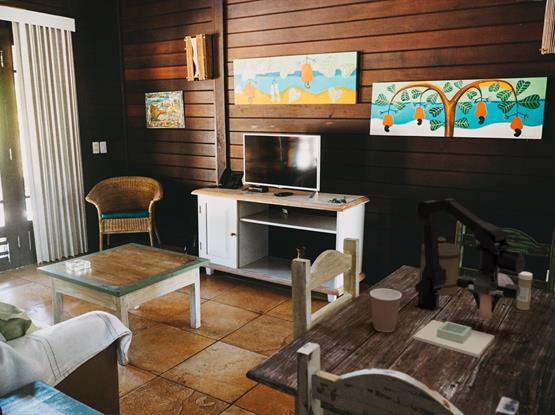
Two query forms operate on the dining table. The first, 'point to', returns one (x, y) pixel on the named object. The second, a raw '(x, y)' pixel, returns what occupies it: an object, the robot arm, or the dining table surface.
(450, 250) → the wooden container
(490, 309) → the terracotta peg
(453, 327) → the socket board
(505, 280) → the sea urchin shell
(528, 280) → the sprinkles bottle
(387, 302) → the coffee cup
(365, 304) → the dining table surface
